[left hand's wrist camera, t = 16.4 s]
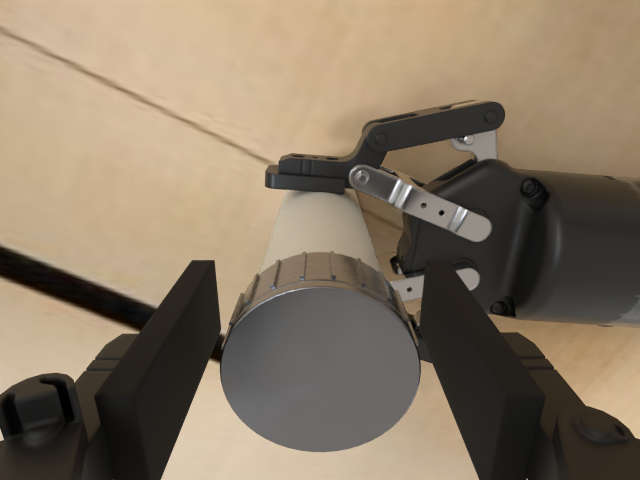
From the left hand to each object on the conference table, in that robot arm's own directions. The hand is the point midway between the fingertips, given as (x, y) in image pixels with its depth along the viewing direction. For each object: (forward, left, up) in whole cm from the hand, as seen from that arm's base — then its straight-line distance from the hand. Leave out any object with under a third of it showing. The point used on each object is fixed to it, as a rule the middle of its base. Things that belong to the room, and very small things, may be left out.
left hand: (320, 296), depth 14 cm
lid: (0, 0, +4) cm, 4 cm away
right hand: (-2, +1, -7) cm, 7 cm away
